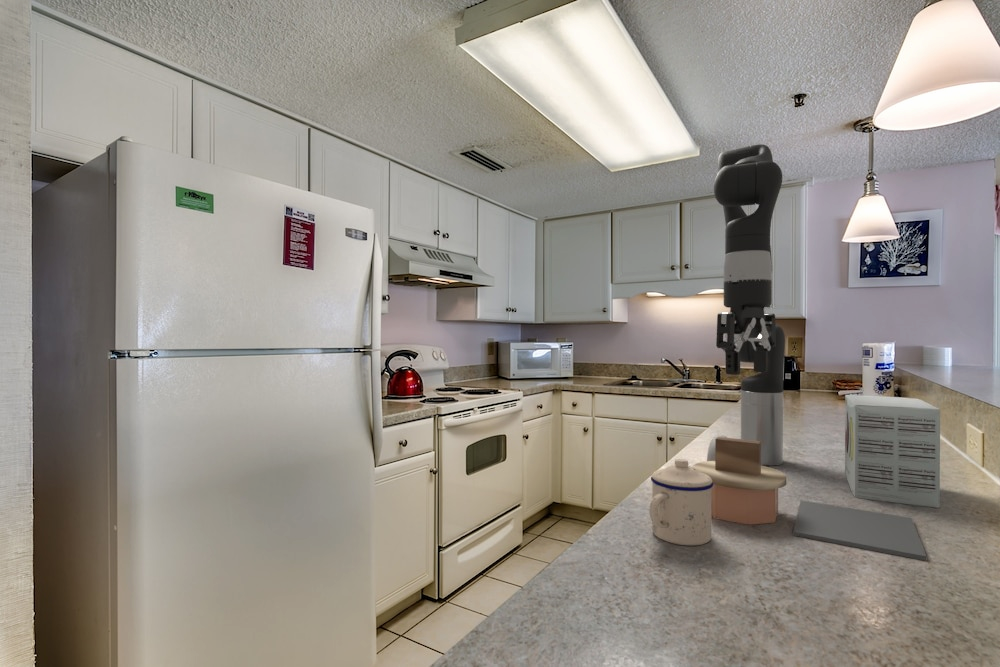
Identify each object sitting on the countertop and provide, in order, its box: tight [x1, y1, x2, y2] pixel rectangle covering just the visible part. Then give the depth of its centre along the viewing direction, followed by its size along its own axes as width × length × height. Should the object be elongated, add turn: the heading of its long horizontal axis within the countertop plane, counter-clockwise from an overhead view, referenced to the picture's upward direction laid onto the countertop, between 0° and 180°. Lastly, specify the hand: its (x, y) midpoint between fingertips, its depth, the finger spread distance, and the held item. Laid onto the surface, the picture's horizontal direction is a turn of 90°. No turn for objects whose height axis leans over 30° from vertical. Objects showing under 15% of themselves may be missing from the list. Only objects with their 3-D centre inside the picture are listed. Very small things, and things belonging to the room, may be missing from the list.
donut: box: [706, 434, 728, 461], centre depth 108 cm, size 10×4×10 cm, turn 143°
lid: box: [692, 437, 788, 490], centre depth 91 cm, size 15×15×6 cm
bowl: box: [711, 484, 779, 526], centre depth 91 cm, size 12×12×6 cm
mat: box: [792, 499, 927, 561], centre depth 83 cm, size 18×16×1 cm
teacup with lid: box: [649, 458, 713, 546], centre depth 79 cm, size 12×9×12 cm
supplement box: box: [844, 394, 941, 509], centre depth 103 cm, size 17×13×18 cm
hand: (747, 373), depth 89 cm, fingers open, 8 cm apart
